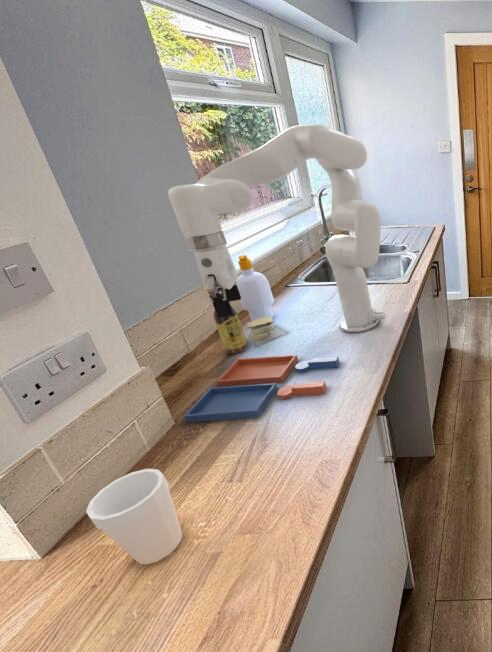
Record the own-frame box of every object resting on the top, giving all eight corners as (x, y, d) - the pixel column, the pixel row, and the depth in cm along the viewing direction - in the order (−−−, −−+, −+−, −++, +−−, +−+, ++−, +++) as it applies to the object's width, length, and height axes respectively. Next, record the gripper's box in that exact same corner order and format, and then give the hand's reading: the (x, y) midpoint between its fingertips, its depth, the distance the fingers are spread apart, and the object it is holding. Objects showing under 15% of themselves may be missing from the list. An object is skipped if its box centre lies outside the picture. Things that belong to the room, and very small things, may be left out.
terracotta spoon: (328, 386, 108) (326, 378, 107) (322, 396, 104) (320, 388, 103) (282, 389, 108) (279, 382, 107) (275, 399, 104) (272, 392, 103)
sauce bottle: (238, 355, 125) (216, 297, 117) (221, 354, 126) (198, 296, 118) (253, 344, 131) (234, 288, 123) (237, 343, 132) (216, 287, 124)
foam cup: (150, 523, 73) (118, 471, 67) (203, 518, 73) (176, 465, 68) (109, 577, 64) (69, 523, 59) (170, 571, 65) (135, 516, 59)
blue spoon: (341, 361, 119) (339, 354, 118) (336, 370, 115) (334, 362, 114) (299, 364, 119) (297, 357, 118) (293, 373, 115) (291, 366, 114)
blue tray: (278, 388, 108) (276, 382, 108) (258, 417, 98) (256, 410, 97) (213, 393, 108) (210, 387, 107) (186, 422, 98) (183, 416, 97)
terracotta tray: (298, 360, 121) (296, 354, 120) (282, 382, 111) (280, 376, 110) (240, 364, 120) (237, 358, 120) (218, 387, 110) (216, 381, 109)
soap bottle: (247, 327, 142) (224, 263, 132) (248, 316, 151) (226, 255, 140) (279, 320, 146) (259, 257, 136) (278, 309, 155) (259, 249, 144)
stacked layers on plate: (256, 346, 130) (250, 331, 128) (243, 338, 135) (238, 324, 133) (286, 333, 137) (281, 318, 135) (273, 326, 142) (269, 312, 140)
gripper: (215, 248, 86) (240, 319, 93) (232, 230, 101) (253, 292, 108) (174, 253, 84) (203, 325, 91) (198, 234, 99) (221, 297, 106)
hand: (230, 307), depth 100 cm, fingers open, 9 cm apart
